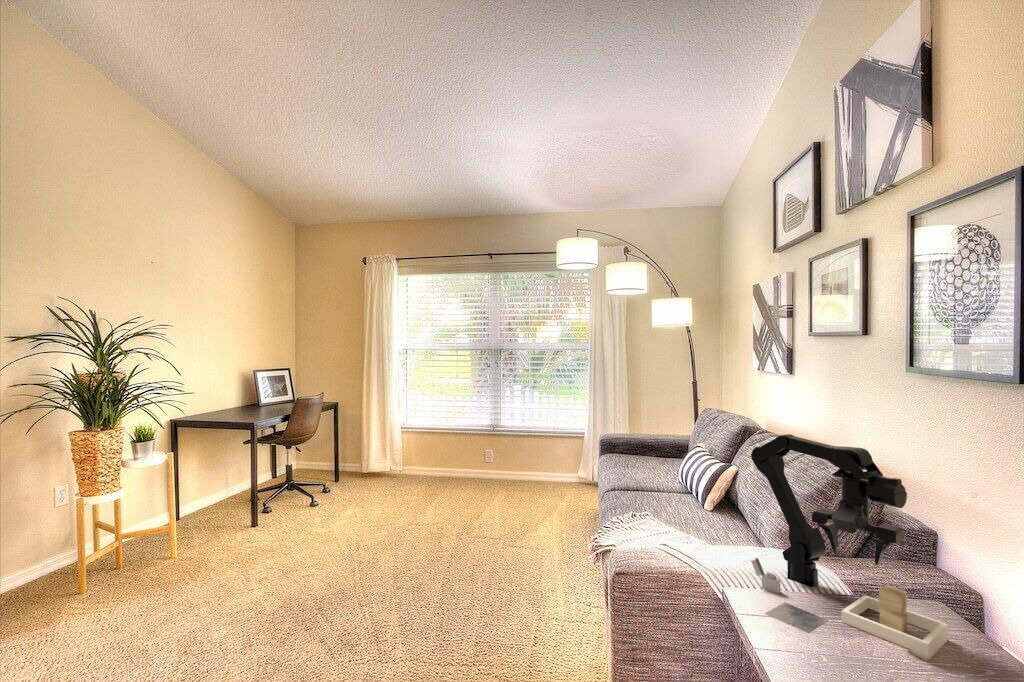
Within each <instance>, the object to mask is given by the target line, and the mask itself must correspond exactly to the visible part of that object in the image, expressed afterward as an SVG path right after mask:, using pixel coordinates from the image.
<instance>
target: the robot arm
mask: <svg viewBox="0 0 1024 682" xmlns="http://www.w3.org/2000/svg"><path fill="white" fill-rule="evenodd" d="M791 451H794V452H796V453H800V454H803V455H807V456H811V457H813V458H814V457H815V458H816V459H817V458H818V459H820V460H821V459H822V460H824V461H826V462H828V463H831V464H832V465H833V466H834V467H837V468H838V470H837V471H835V472H832V476H833V477H836V478H841V500H839V507H838V509H836V510H835V511H833V510H829V509H825V508H819V509H817V510H814V511H813V512H812V513H811V522H813V523H815V524H816V525H817V526H818V527H813V526H811V525H810V524H809V523H808V521H807V519H806V518H805V516H804V513H803V511H802V509H801V506H800V504H799V503H798V501H797V499H796V497H795V494H794V492H793V490H792V488H791V485H790V483H789V481H788V479H787V477H786V475H785V461H784V457H785V456H786V455H788V454H789V453H790V452H791ZM750 458H751V460H752V462H753V464H754V466H755V467H756V469H757V470H758V471H759V472H760V473H761V474H762V475H763V476H764V477H765V478H766V479H767V481H768V483H769V485H770V486H769V487H770V488H771V490H772V492H773V494H774V498H775V499H776V501H777V504H778V505H779V508H780V511H781V512H782V515H783V517H784V519H785V520H786V524H787V525H788V541H789V543H790V546H789V547H788V548H786V549H784V550H783V551H782V556H783V559H784V561H786V562H787V564H786V565H787V576H786V579H787V580H790V581H793V582H796V583H798V584H800V585H804V586H805V587H806V586H807V587H809V588H814V587H816V586H818V585H819V574H818V573H819V570H818V569H817V562H819V561H820V558H821V557H822V556H823V555H824V554H825V552H826V550H827V548H826V544H825V543H827V541H826V540H825V538H823V536H822V533H821V530H820V529H819V528H822V530H823V531H824V533H825V534H826V537H827V538H828V541H829V544H830V546H831V548H832V551H833V553H835V554H836V553H838V548H839V536H838V535H839V531H843V532H846V533H849V534H855V533H856V532H857V530H860V531H865V532H868V533H873V534H875V536H876V537H877V538H875V539H874V543H875V552H874V565H875V566H879V565H880V562H881V560H882V558H883V556H884V555H885V552H886V551H887V549H888V547H889V546H890V545H892V544H897V543H900V542H901V541H903V540H904V530H903V529H902V528H901V527H899V526H896V525H891V524H889V523H882V524H879V525H874V524H872V523H871V520H872V519H871V517H870V506H871V502H873V503H877V504H881V505H885V506H889V507H894V508H897V509H902V508H903V507H905V506H906V503H907V499H908V493H907V491H906V488H905V486H904V485H903V483H902V482H903V481H902V479H901V478H896V477H887V476H884V474H883V473H882V471H881V470H880V469H879V467H878V466H877V465H876V464H875V461H874V460H873V457H872V455H871V453H870V452H869V450H867V449H866V448H863V447H852V446H838V445H836V446H835V445H831V444H826V443H822V442H819V441H816V440H812V439H807V438H803V437H800V436H799V437H798V436H795V435H793V434H789V433H788V434H787V433H786V434H780V435H778V436H777V437H776V438H774V439H772V440H771V441H769V442H766V443H764V444H763V445H761V446H756V447H754V448H753V449H752V451H751V454H750ZM870 500H871V501H870Z"/></svg>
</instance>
